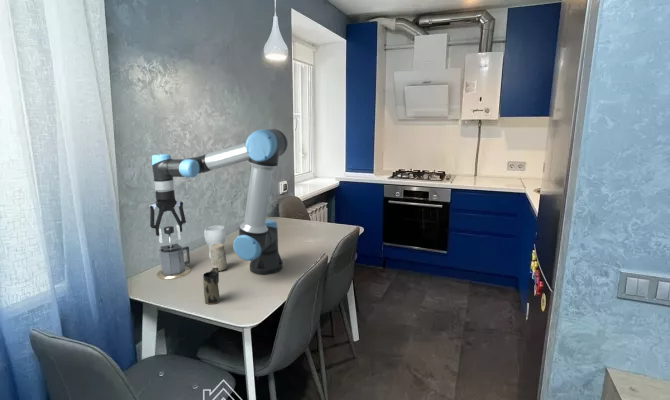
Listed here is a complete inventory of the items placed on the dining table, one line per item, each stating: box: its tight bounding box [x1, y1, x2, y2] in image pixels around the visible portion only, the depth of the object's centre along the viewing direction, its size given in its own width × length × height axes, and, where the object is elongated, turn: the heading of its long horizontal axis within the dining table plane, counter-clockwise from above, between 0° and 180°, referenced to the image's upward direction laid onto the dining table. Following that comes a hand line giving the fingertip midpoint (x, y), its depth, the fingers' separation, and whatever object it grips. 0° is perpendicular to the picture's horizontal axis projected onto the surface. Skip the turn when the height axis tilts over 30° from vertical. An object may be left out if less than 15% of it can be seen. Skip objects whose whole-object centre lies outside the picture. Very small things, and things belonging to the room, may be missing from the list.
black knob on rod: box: [163, 225, 175, 252], centre depth 164 cm, size 6×6×19 cm
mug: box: [202, 267, 221, 305], centre depth 139 cm, size 8×6×12 cm
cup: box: [203, 225, 227, 259], centre depth 185 cm, size 11×11×15 cm
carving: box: [209, 243, 228, 271], centre depth 168 cm, size 6×8×12 cm
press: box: [156, 243, 191, 280], centre depth 165 cm, size 14×14×12 cm
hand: (170, 240), depth 163 cm, fingers open, 7 cm apart
